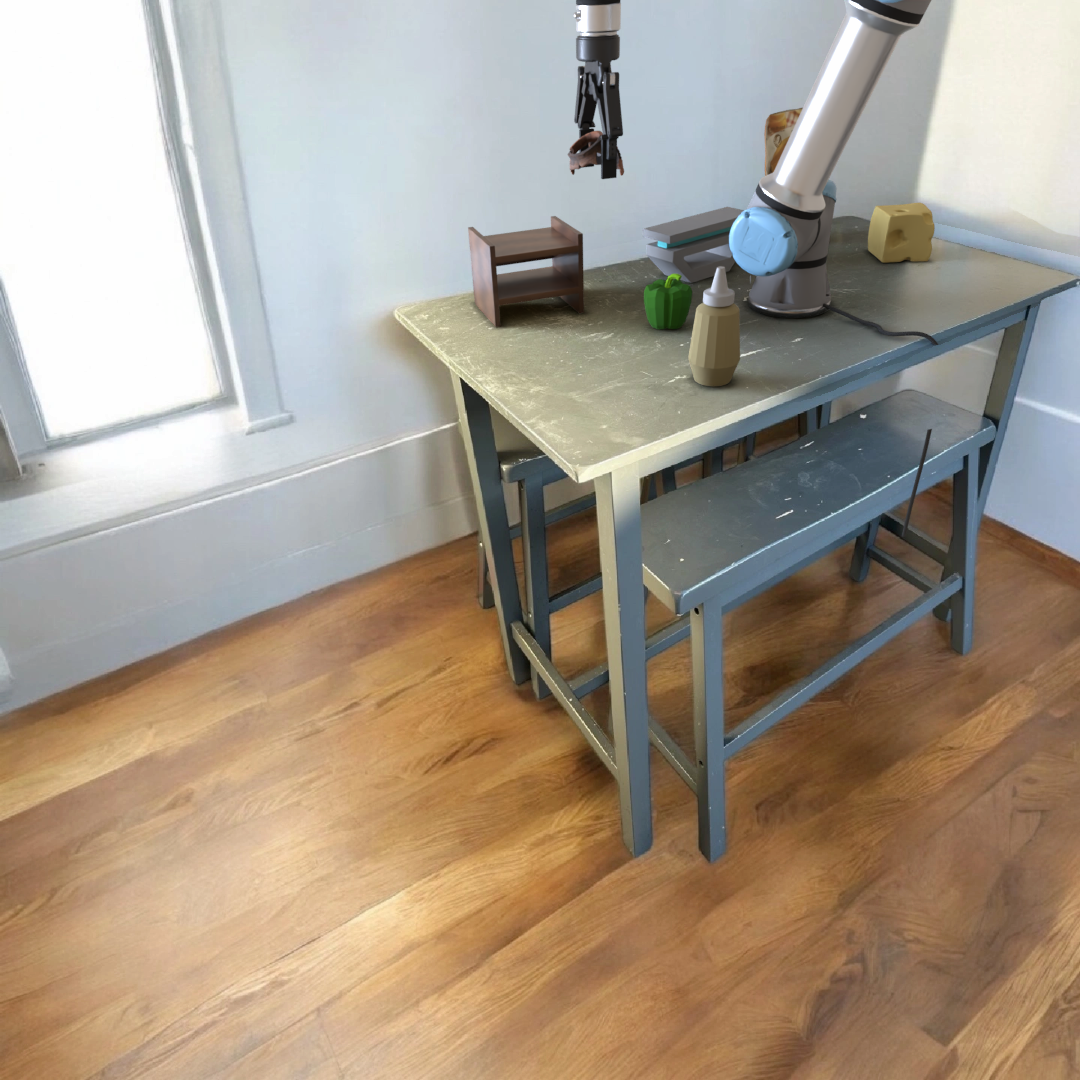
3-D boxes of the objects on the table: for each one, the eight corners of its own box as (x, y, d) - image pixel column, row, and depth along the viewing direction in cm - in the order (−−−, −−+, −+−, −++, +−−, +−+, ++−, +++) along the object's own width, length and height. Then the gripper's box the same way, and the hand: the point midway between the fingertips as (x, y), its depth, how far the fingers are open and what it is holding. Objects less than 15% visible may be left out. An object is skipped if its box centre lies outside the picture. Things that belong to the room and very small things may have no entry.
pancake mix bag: (743, 247, 198) (755, 113, 182) (797, 231, 207) (813, 102, 191) (766, 252, 193) (780, 116, 177) (820, 236, 202) (838, 105, 186)
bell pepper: (635, 323, 160) (636, 269, 154) (673, 315, 162) (676, 262, 156) (658, 337, 153) (660, 282, 148) (697, 329, 156) (700, 274, 150)
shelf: (584, 312, 166) (582, 233, 157) (495, 327, 161) (489, 246, 153) (557, 290, 177) (555, 215, 169) (474, 303, 173) (467, 227, 165)
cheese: (929, 261, 182) (940, 213, 177) (879, 264, 183) (887, 215, 177) (912, 248, 191) (922, 201, 185) (864, 250, 191) (872, 203, 186)
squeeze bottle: (726, 394, 132) (736, 278, 122) (678, 384, 136) (684, 271, 126) (745, 375, 138) (756, 263, 128) (698, 366, 142) (706, 257, 131)
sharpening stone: (723, 257, 192) (727, 206, 186) (750, 264, 186) (755, 212, 180) (641, 281, 180) (642, 228, 174) (667, 290, 174) (670, 235, 168)
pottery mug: (628, 181, 153) (607, 141, 148) (581, 205, 157) (560, 166, 152) (628, 150, 161) (609, 111, 156) (584, 173, 165) (564, 136, 160)
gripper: (555, 31, 153) (558, 163, 166) (602, 39, 135) (601, 186, 148) (594, 28, 155) (594, 159, 168) (645, 36, 137) (641, 182, 150)
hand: (597, 172), depth 158 cm, fingers closed on pottery mug, 10 cm apart
